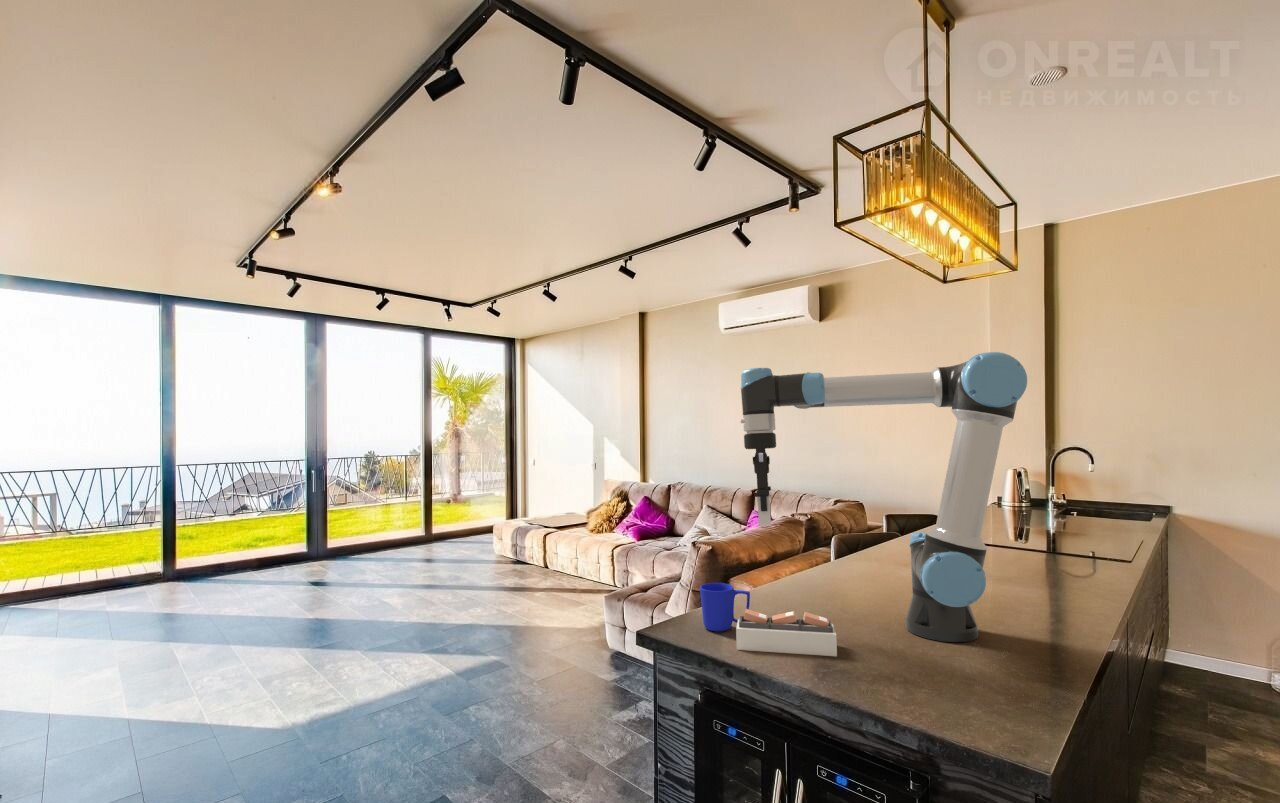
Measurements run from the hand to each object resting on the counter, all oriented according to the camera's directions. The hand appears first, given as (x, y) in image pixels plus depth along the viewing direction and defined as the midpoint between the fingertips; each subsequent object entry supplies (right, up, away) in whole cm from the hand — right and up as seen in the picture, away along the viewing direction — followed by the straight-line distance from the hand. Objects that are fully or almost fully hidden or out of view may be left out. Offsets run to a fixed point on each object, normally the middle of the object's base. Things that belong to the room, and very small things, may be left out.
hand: (764, 521), depth 137 cm
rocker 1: (-4, -20, -8) cm, 22 cm away
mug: (-9, -27, +3) cm, 29 cm away
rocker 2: (+2, -20, -9) cm, 22 cm away
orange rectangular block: (+9, -20, -11) cm, 24 cm away
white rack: (+2, -26, -10) cm, 28 cm away
